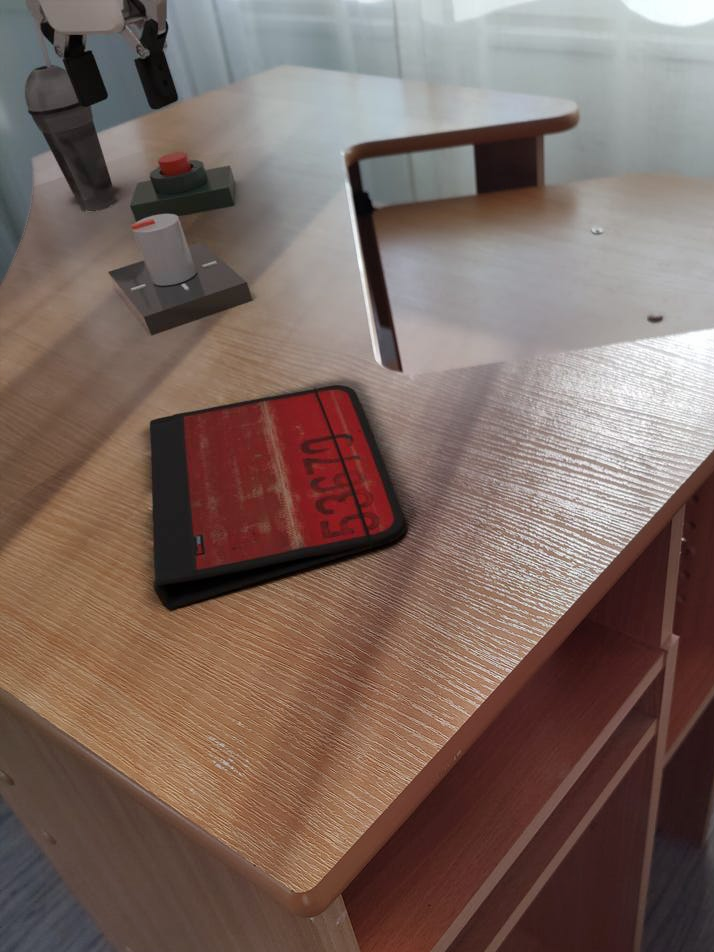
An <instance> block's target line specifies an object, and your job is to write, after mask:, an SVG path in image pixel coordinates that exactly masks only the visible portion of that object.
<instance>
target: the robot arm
mask: <svg viewBox="0 0 714 952" xmlns="http://www.w3.org/2000/svg"><path fill="white" fill-rule="evenodd" d="M25 6H26V8H27V10H28V11H29V12H30V14H31V16H32V17H33V18H34V19H35V20H36V22H37V23H38V24H39V25H40V29H41V32H42V36H43V37H45V38H46V40H47V41H48V42H49V43H50V44H51V45H52V46H53V51H54V53H55V56H56V57H57V58H59V59H60V60H62V63H63V65H64V69H65V70H66V71H67V73H68V76H69V78H70V81H71V83H72V86H73V89H74V91H75V94H76V96H77V99H78V102H79V104H80V105H81V106H82V107H88V106H91V107H92V106H93V105H95V104H98V103H100V102H103V101H105V100H107V99H108V97H109V94H108V91H107V88H106V86H105V82H104V80H103V77H102V73H101V72H100V69H99V66H98V63H97V60H96V58H95V55H94V53H93V50H91V49H90V50H89V49H88V50H86V48H87V40H88V38H87V37H88V35H90V36H91V35H93V36H95V35H114V34H115V35H116V34H118V33H119V34H120V36H121V37H122V38H123V40H124V41H125V42H126V43H127V44H128V46H129V47H130V48H131V50H133V52H134V53H135V54H136V56H137V58H135V59H133V62H134V65H135V68H136V71H137V75H138V78H139V80H140V83H141V86H142V89H143V92H144V94H145V98H146V100H147V101H146V102H147V104H148V106H149V107H150V109H151V110H160V109H162V108H164V107H166V106H169V105H172V104H174V103H176V102H177V101H178V100H179V94H178V92H177V88H176V85H175V82H174V79H173V76H172V73H171V69H170V67H169V64H168V63H169V62H168V60H167V57H166V53H165V51H167V50H168V43H167V36H168V33H169V28H170V27H169V23H168V21H167V19H168V0H25ZM137 30H139V31H140V32H141V35H139V33H138V32H137Z"/></svg>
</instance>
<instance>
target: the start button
mask: <svg viewBox="0 0 714 952" xmlns="http://www.w3.org/2000/svg"><path fill="white" fill-rule="evenodd" d="M189 160H190V158H189V156H188V153H187V152H184V151H183V152H182V151H181V152H180V151H179V152H178V151H177V152H172V153H168V154H165V155H162V156H161V157H159V158H158V159H157V163H158V165H159V166H158V167H160V169H161V172H162V175H174V174H180V173H183V172H186V171H189V170H190V169H192V168H191V164H190V161H189Z"/></svg>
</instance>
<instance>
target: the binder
mask: <svg viewBox="0 0 714 952" xmlns="http://www.w3.org/2000/svg"><path fill="white" fill-rule="evenodd" d="M366 415H367V414H366V413H365V410H364V407H363V405H362V403H361V401H360V399H359V396H358V394H357V392H356V391H355V389H353V388H352V387H350V386H348V385H341V384H334V385H326V386H322V387H317V388H316V387H314V388H313V389H306V390H302V391H297V392H290V393H285V394H279V395H273V396H267V397H265V396H264V397H261V398H255V399H250V400H245V401H244V400H243V401H238V402H234V403H228V404H224V405H217V406H212V407H207V408H203V409H196V410H192V411H186V412H185V411H184V412H179V413H174V414H172V415H168V416H163V417H158V418H155V419H152V420H150V422H149V434H150V458H151V459H150V461H151V462H150V463H151V500H152V523H153V536H152V537H153V569H154V570H153V571H154V581H153V591H154V592H155V594H156V596H157V598H158V600H159V601H160V603H161V604H162V606H163V607H164V608H165V609H167V610H174V609H176V608H179V607H184V606H186V605H189V604H193V603H196V602H198V601H201V600H205V599H208V598H211V597H214V596H217V595H220V594H223V593H226V592H229V591H234V590H236V589H240V588H243V587H246V586H250V585H252V584H253V585H254V584H256V583H259V582H263V581H266V580H270V579H272V578H275V577H279V576H283V575H286V574H290V573H292V572H296V571H299V570H303V569H306V568H309V567H312V566H315V565H319V564H322V563H323V564H324V563H326V562H330V561H333V560H335V559H339V558H343V557H345V556H349V555H354V554H357V553H361V552H364V551H366V550H373V548H376V547H380V546H384V545H386V544H389V543H393V542H394V541H396V540H397V539H399V538H400V537H402V535H403V534H405V532H406V530H407V528H408V527H407V525H408V524H407V520H406V517H405V514H404V512H403V509H402V507H401V504H400V501H399V499H398V497H397V494H396V493H397V492H396V490H395V488H394V485H393V483H392V480H391V476H390V474H389V472H388V469H387V466H386V464H385V462H384V459H383V456H382V453H381V451H380V448H379V446H378V443H377V441H376V437H375V435H374V432H373V429H372V428H371V425H370V423H369V421H368V420H369V419H368V418H367V416H366Z"/></svg>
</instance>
